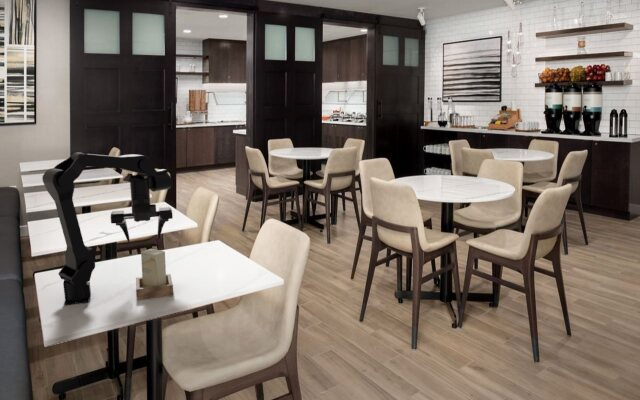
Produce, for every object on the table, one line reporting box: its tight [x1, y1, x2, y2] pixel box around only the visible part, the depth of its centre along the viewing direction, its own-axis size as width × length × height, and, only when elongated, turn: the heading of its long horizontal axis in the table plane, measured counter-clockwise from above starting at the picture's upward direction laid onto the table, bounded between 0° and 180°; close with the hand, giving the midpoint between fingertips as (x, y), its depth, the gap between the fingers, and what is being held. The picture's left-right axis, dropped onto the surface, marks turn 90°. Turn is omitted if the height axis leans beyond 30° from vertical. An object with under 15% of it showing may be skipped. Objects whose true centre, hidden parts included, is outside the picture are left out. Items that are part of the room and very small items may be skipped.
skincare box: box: [140, 248, 167, 288], centre depth 162 cm, size 6×4×12 cm
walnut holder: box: [135, 273, 174, 301], centre depth 163 cm, size 11×11×3 cm
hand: (143, 240), depth 172 cm, fingers open, 9 cm apart
